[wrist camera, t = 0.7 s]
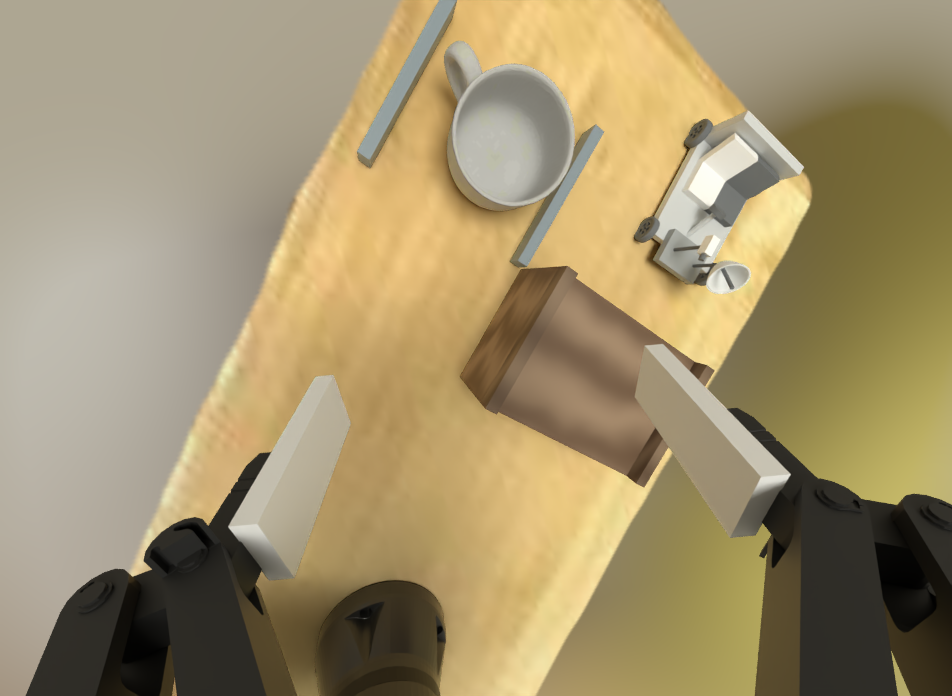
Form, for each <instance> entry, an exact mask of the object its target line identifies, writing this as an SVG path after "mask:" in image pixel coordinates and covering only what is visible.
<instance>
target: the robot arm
mask: <svg viewBox="0 0 952 696" xmlns="http://www.w3.org/2000/svg"><path fill="white" fill-rule="evenodd" d="M635 398H636V399H637V401H638V402H639V404H640V405H641V407H642V408H643V410H644V411H645V413H646V414H647V416H648V417H649V419H650V420H651V422H652V423H653V425H654V426H655V428H656V429H657V431H658V432H659V433H660V435H661V436H662V438H663V439H664V441H665V442H666V444H667V445H668V447H669V448H670V450H671V451H672V453H673V454H674V456H675V457H676V458H677V460H678V461H679V463H680V464H681V466H682V467H683V469H684V470H685V472H686V473H687V475H688V476H689V478H690V479H691V481H692V482H693V484H694V485H695V487H696V488H697V490H698V491H699V493H700V494H701V496H702V497H703V498H704V500H705V501H706V503H707V504H708V506H709V507H710V509H711V510H712V512H713V513H714V515H715V516H716V518H717V519H718V521H719V522H720V524H721V525H722V527H723V528H724V530H725V531H726V533H727V534H728V535H729V537H730V538H732V537H743V536H754V535H756V534H757V532H758V530H759V528H760V527H761V525H762V523H763V524H764V525H765V527H766V528H767V529H768V530H769V532H770V533H771V534H772V535H771V536H770V538H769V540H768V541H767V543H766V545H765V546H764V548H763V549H762V551H761V553H760V555H759V556H760V557H762V558H764V557H765V556H766V554H767V560H766V571H765V583H764V584H765V585H764V595H763V606H762V607H763V608H762V618H761V630H760V641H759V652H758V664H757V676H756V687H755V696H898V693H897V687H896V681H895V674H894V667H893V661H892V654H891V651H892V653H893V655H894V658H895V660H896V662H897V665H898V667H899V669H900V672H901V674H902V676H903V678H904V681H905V683H906V686H907V688H908V690H909V693H910V695H911V696H952V505H951V504H949V503H946V502H945V501H942V500H940V499H937V498H934V497H930V496H927V495H920V494H911V495H906V496H905V497H904V498H903V499H902V500H901V501H900V502H899V504H898V505H893V504H887V503H881V502H875V501H870V500H864V499H861V498H860V497H859V496H858V495H856V494H855V493H853V492H852V491H850V490H849V489H847V488H846V487H844V486H842V485H839V484H837V483H835V482H832V481H828V480H824V479H818V478H817V477H815V476H814V475H813V474H812V473H811V472H810V471H809V470H808V469H807V468H806V467H805V466H804V465H803V464H802V463H801V462H800V461H799V460H798V459H797V458H796V457H795V456H793V455H792V454H791V453H790V452H789V451H788V450H787V449H786V448H785V447H784V446H783V445H782V444H781V443H780V442H779V441H776V438H775V437H774V436H773V435H772V434H770V433H769V432H768V431H766V429H765V428H764V427H763V426H762V425H761V424H760V423H759V422H758V421H757V420H756V419H755V418H754V417H752V416H750V415H749V414H747V413H745V412H743V411H742V410H740V409H738V408H731V409H726V408H725V407H724V406H723V405H722V404H721V403H720V402H719V401H718V400H717V399H716V398H715V397H714V396H713V395H712V393H710V392H709V390H708V389H707V388H706V387H705V386H704V385H703V384H702V383H701V382H700V381H699V380H698V379H697V378H696V377H695V376H694V375H693V374H692V373H691V372H690V371H689V370H688V369H687V368H686V367H685V366H684V365H683V364H682V363H681V362H680V361H679V360H678V359H677V358H676V357H675V356H674V355H673V354H672V353H671V352H670V351H669V350H668V349H667V348H666V347H665V346H664V345H663V344H656V345H645V346H644V352H643V357H642V362H641V367H640V372H639V377H638V382H637V387H636V392H635ZM350 425H351V422H350V419H349V417H348V414H347V411H346V408H345V405H344V403H343V400H342V397H341V394H340V392H339V389H338V386H337V383H336V381H335V378H334V375H327V376H317V377H315V378H314V380H313V382H312V383H311V385H310V387H309V388H308V390H307V392H306V394H305V395H304V397H303V399H302V400H301V402H300V404H299V406H298V407H297V409H296V411H295V413H294V414H293V416H292V418H291V419H290V421H289V423H288V425H287V426H286V428H285V430H284V431H283V433H282V435H281V437H280V438H279V440H278V442H277V443H276V445H275V447H274V449H273V450H272V452H270V453H260V454H259V455H258V456H257V457H255V458H254V459H253V460H252V461H251V462H250V463H249V464H248V465H247V466H246V467H245V469H244V470H243V472H242V474H241V475H240V477H239V478H238V482H236V483H235V485H234V486H233V488H232V489H231V493H229V494H228V496H227V497H226V499H225V501H224V502H223V504H222V505H221V507H220V508H219V510H218V512H217V513H216V515H215V516H214V518H213V519H212V521H211V523H210V524H209V526H208V525H207V524H206V523H205V522H204V520H203V519H200V518H196V517H194V518H188V519H184V520H182V521H179V522H177V523H175V524H173V525H171V526H170V527H169V528H167V529H166V530H164V531H163V532H161V533H160V534H159V535H158V536H157V537H156V538H155V539H154V540H153V541H152V543H151V544H150V546H149V547H148V549H147V550H146V552H145V556H144V562H145V563H146V564H147V565H148V566H149V567H150V568H152V570H150V571H147V572H144V573H142V574H139V575H136V576H134V577H132V576H131V575H130V574H129V573H128V572H127V571H125V570H124V569H114V570H110V571H107V572H104V573H102V574H101V575H99V576H97V577H95V578H93V579H91V580H90V581H89V582H87V583H86V584H85V585H83V586H82V587H81V588H80V589H78V590H77V591H76V592H75V594H74V595H73V596H72V597H71V598H70V599H69V600H68V601H67V603H66V604H65V606H64V608H63V609H62V611H61V612H60V615H59V617H58V619H57V622H56V624H55V627H54V629H53V631H52V634H51V636H50V639H49V641H48V643H47V646H46V648H45V651H44V653H43V655H42V658H41V660H40V663H39V665H38V667H37V670H36V672H35V675H34V677H33V680H32V682H31V684H30V687H29V689H28V691H27V694H26V696H172V691H173V684H174V677H175V682H176V690H177V696H297V694H296V691H295V689H294V686H293V683H292V680H291V677H290V674H289V672H288V669H287V666H286V663H285V660H284V658H283V655H282V652H281V649H280V646H279V644H278V641H277V638H276V635H275V632H274V629H273V627H272V624H271V621H270V618H269V615H268V613H267V610H266V607H265V604H264V601H263V599H262V596H261V593H260V590H259V588H258V587H257V586H256V582H257V579H258V577H259V575H260V573H261V570H262V572H263V573H264V574H265V576H266V577H267V578H268V580H279V579H290V578H295V575H296V572H297V570H298V567H299V564H300V561H301V559H302V556H303V553H304V551H305V548H306V545H307V542H308V540H309V537H310V534H311V531H312V529H313V526H314V523H315V520H316V518H317V515H318V512H319V509H320V507H321V504H322V501H323V498H324V496H325V493H326V490H327V488H328V485H329V482H330V479H331V477H332V474H333V471H334V468H335V466H336V463H337V460H338V457H339V455H340V452H341V449H342V446H343V444H344V441H345V438H346V436H347V433H348V430H349V427H350ZM445 643H446V629H445V623H444V617H443V612H442V609H441V606H440V604H439V602H438V600H437V599H436V598H435V597H434V595H433V594H431V593H430V592H429V591H428V590H426V589H425V588H423V587H421V586H419V585H416V584H413V583H409V582H402V581H389V582H382V583H377V584H374V585H370V586H368V587H365V588H363V589H360V590H358V591H356V592H355V593H353V594H351V595H350V596H348V597H347V598H346V599H344V600H343V601H342V602H340V603H339V604H338V605H337V606H336V607H335V608H334V609H333V611H332V612H331V613H330V614H329V616H328V617H327V619H326V620H325V622H324V624H323V626H322V628H321V631H320V634H319V638H318V644H317V649H316V655H315V672H316V677H317V684H318V690H319V696H440V690H439V687H440V680H441V673H442V665H443V658H444V651H445Z"/></svg>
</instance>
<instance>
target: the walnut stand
mask: <svg viewBox="0 0 952 696" xmlns="http://www.w3.org/2000/svg"><path fill="white" fill-rule="evenodd" d="M577 275H578V273H577V272H575V271H574V270H572V269H571V268H570V267H568V266H562V267H548V268H533V269H521V271H520V272H519V274H518V276H517V278H516V279H515V281H514V283H513V285H512V286H511V288H510V290H509V292H508V293H507V295H506V297H505V299H504V300H503V302H502V304H501V306H500V307H499V309H498V311H497V313H496V314H495V316H494V318H493V320H492V321H491V323H490V325H489V327H488V328H487V330H486V332H485V334H484V335H483V337H482V339H481V341H480V342H479V344H478V346H477V348H476V349H475V351H474V353H473V355H472V356H471V358H470V360H469V362H468V363H467V365H466V367H465V369H464V370H463V372H462V374H461V376H460V377H461V379H462V380H463V381H464V383H465V384H466V385H467V386H468V388H469V389H470V390H471V391H472V393H473V394H474V395H475V396H476V398H477V399H478V400H479V401H480V403H481V404H482V405H483V406H484V408H485V409H487V410H489V411H491V412H493V413H495V414H497V413H498V412H500V413H502V414H504V415H506V416H508V417H510V418H512V419H514V420H516V421H518V422H520V423H522V424H524V425H526V426H528V427H530V428H532V429H534V430H536V431H538V432H540V433H542V434H544V435H546V436H548V437H550V438H552V439H554V440H556V441H558V442H560V443H562V444H564V445H566V446H568V447H570V448H572V449H574V450H576V451H578V452H580V453H582V454H584V455H586V456H588V457H590V458H592V459H594V460H596V461H598V462H600V463H602V464H604V465H606V466H608V467H610V468H612V469H614V470H616V471H618V472H620V473H622V474H624V475H626V476H627V477H629V478H630V479H631V480H632V481H634V482H635V483H636V484H638V485H640V486H642V487H645V485H646V483H647V482H648V480H649V479H650V477H651V475H652V474H653V472H654V470H655V469H656V467H657V465H658V464H659V462H660V460H661V459H662V457H663V455H664V454H665V452H666V450H667V449H668V445H667V444H666V442H665V441H664V439H663V438H662V436H661V435H660V433H659V432H658V431H657V429H656V428H655V426H654V425H653V423H652V422H651V420H650V419H649V417H648V416H647V414H646V413H645V411H644V410H643V408H642V407H641V405H640V404H639V402H638V401H637V399H636V398H635V392H636V387H637V382H638V377H639V372H640V367H641V362H642V357H643V352H644V346H645V345H656V344H663V345H664V346H665V347H666V348H667V349H668V350H669V351H670V352H671V353H672V354H673V355H674V356H675V357H676V358H677V359H678V360H679V361H680V362H681V363H682V364H683V365H684V366H685V367H686V368H687V369H688V370H689V371H690V372H691V373H692V374H693V375H694V376H695V377H696V378H697V379H698V380H699V381H700V382H701V383H702V384H703V385H704V386H706V384H707V382H708V381H709V379H710V377H711V376H712V374H713V372H714V370H713V369H712V368H710V367H709V366H707V365H704V364H700V363H697V362H694V361H693V360H691V359H690V358H688V357H687V356H685V355H684V354H683V353H681V352H680V351H678V350H677V349H675V348H674V347H673V346H671V345H670V344H668V343H667V342H666V341H664V340H663V339H661V338H660V337H658V336H657V335H656V334H654V333H653V332H651V331H650V330H648V329H647V328H646V327H644V326H643V325H641V324H640V323H639V322H637V321H636V320H634V319H633V318H631V317H630V316H629V315H627V314H626V313H624V312H623V311H621V310H620V309H619V308H617V307H616V306H614V305H613V304H612V303H610V302H609V301H607V300H606V299H604V298H603V297H602V296H600V295H599V294H597V293H596V292H594V291H593V290H592V289H590V288H589V287H587V286H586V285H584V284H583V283H582V282H580V281H579V280H577V279H576V276H577Z"/></svg>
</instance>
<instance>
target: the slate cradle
mask: <svg viewBox="0 0 952 696" xmlns="http://www.w3.org/2000/svg"><path fill="white" fill-rule="evenodd" d="M456 3H457V0H439V2H438V4H437V5H436V7H435V9H434V11H433V13H432V15H431V16H430V18H429V20H428V22H427V24H426V26H425V27H424V29H423V31H422V33H421V35H420V37H419V38H418V40H417V42H416V44H415V46H414V48H413V50H412V51H411V53H410V55H409V57H408V59H407V61H406V62H405V64H404V66H403V68H402V70H401V72H400V73H399V75H398V77H397V79H396V81H395V83H394V84H393V86H392V88H391V90H390V92H389V94H388V96H387V97H386V99H385V101H384V103H383V105H382V107H381V108H380V110H379V112H378V114H377V116H376V118H375V119H374V121H373V123H372V125H371V127H370V129H369V130H368V132H367V134H366V136H365V138H364V140H363V141H362V143H361V145H360V147H359V149H358V151H357V154H358V159H359V161H360V162H362V163H363V164H365V165H366V166H368V167H369V168H371V166H372V164H373V163H374V161H375V159H376V157H377V155H378V154H379V152H380V150H381V148H382V146H383V144H384V143H385V141H386V139H387V137H388V135H389V133H390V132H391V130H392V128H393V126H394V124H395V122H396V121H397V119H398V117H399V115H400V113H401V111H402V110H403V108H404V106H405V104H406V102H407V100H408V99H409V97H410V95H411V93H412V91H413V89H414V88H415V86H416V84H417V82H418V80H419V78H420V77H421V75H422V73H423V71H424V69H425V68H426V66H427V64H428V62H429V60H430V58H431V57H432V55H433V53H434V51H435V49H436V47H437V46H438V44H439V42H440V40H441V38H442V36H443V35H444V33H445V31H446V29H447V27H448V25H449V24H450V22H451V20H452V17H453V14H454V10H455V6H456ZM603 133H604V131H603V130H601V129H600V128H599V127H598V126H597V125H594V126H593V127H591V128H590V129H589V130H587V131H586V132H584V133H583V134H582V136H581V138H580V139H579V141H578V143H577V145H576V146H575V148H574V151H573V156H572V160H571V163H570V166H569V169H568V171H567V173H566V175H565V177H564V178H563V180H562V181H561V183H560V184H559V185H558V186H557V187H556V189H555V190H554V191H552V192H551V193H550V194H549V195H548V196H547V197H546V199H545V201H544V203H543V204H542V206H541V208H540V210H539V211H538V213H537V215H536V217H535V218H534V220H533V222H532V224H531V225H530V227H529V229H528V231H527V232H526V234H525V236H524V238H523V239H522V241H521V243H520V245H519V246H518V248H517V250H516V252H515V253H514V255H513V257H512V259H511V261H510V262H511V263H512V264H514V265H515V266H517V267H527V266H528V264H529V262H530V261H531V259H532V257H533V255H534V254H535V252H536V250H537V248H538V247H539V245H540V243H541V241H542V240H543V238H544V236H545V234H546V233H547V231H548V229H549V227H550V226H551V224H552V222H553V220H554V219H555V217H556V215H557V213H558V212H559V210H560V208H561V206H562V205H563V203H564V201H565V199H566V198H567V196H568V194H569V192H570V191H571V189H572V187H573V185H574V184H575V182H576V180H577V178H578V177H579V175H580V173H581V171H582V170H583V168H584V166H585V165H586V163H587V161H588V159H589V158H590V156H591V154H592V152H593V151H594V149H595V147H596V145H597V144H598V142H599V140H600V138H601V137H602V135H603Z"/></svg>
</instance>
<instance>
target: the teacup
mask: <svg viewBox="0 0 952 696" xmlns="http://www.w3.org/2000/svg"><path fill="white" fill-rule="evenodd" d="M444 64H445V70H446V74H447V77H448V80H449V83H450V85H451V88H452V90H453V93H454V95H455V97H456V100H457V102H458V104H457V107H456V109H455V112H454V116H453V121H452V124H451V127H450V131H449V135H448V141H447V159H448V165H449V169H450V172H451V175H452V177H453V180H454V182H455V183H456V185H457V187H458V188H459V190H460V191H461V192H462V193H463V194H464V195H465V196H466V197H467V198H468V199H469V200H470V201H472V202H473V203H475V204H476V205H478V206H480V207H482V208H485V209H489V210H494V211H506V210H512V209H516V208H519V207H522V206H526V205H529V204H533V203H535V202H537V201H540V200H541V199H543V198H545V197H546V196H548V195H549V194H550V193H551V192H552V191H554V190H555V189H556V187H557V186H558V185H559V184H560V183H561V181H562V180H563V178H564V177H565V175H566V173H567V171H568V169H569V166H570V163H571V160H572V156H573V151H574V143H575V133H574V124H573V118H572V114H571V111H570V108H569V105H568V103H567V101H566V99H565V98H564V96H563V94H562V92H561V91H560V90H559V89H558V87H557V86H556V85H555V83H554V82H553V81H551V79H549V78H548V77H547V76H546V75H545V74H543V73H542V72H540V71H538V70H536V69H534V68H532V67H529V66H526V65H522V64H506V65H501V66H497V67H495V68H492V69H490V70H488V71H485V72H484V73H482V70H481V67H480V64H479V61H478V59H477V57H476V55H475V53H474V51H473V50H472V48H471V47H470V46H469V45H468V44H467V43H465V42H464V41H456V42H454V43H453V44H451V45H450V46H449V47H448V49H447V50H446V52H445V55H444Z"/></svg>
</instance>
